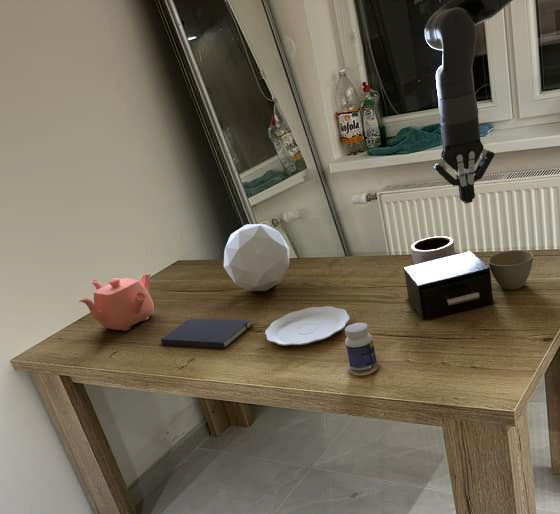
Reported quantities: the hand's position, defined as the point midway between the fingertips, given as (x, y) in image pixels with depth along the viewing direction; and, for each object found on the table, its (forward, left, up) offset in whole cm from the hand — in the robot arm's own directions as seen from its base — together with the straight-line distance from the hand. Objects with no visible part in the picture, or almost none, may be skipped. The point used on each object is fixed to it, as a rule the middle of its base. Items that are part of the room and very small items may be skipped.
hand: (467, 202), depth 145 cm
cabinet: (+4, -8, -25) cm, 27 cm away
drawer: (+4, -4, -24) cm, 25 cm away
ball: (+48, -50, -25) cm, 74 cm away
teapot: (+90, -48, -25) cm, 105 cm away
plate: (+39, -11, -25) cm, 48 cm away
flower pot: (-11, -8, -25) cm, 29 cm away
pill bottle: (+30, +16, -25) cm, 42 cm away
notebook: (+65, -24, -25) cm, 74 cm away
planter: (+3, -24, -25) cm, 35 cm away
